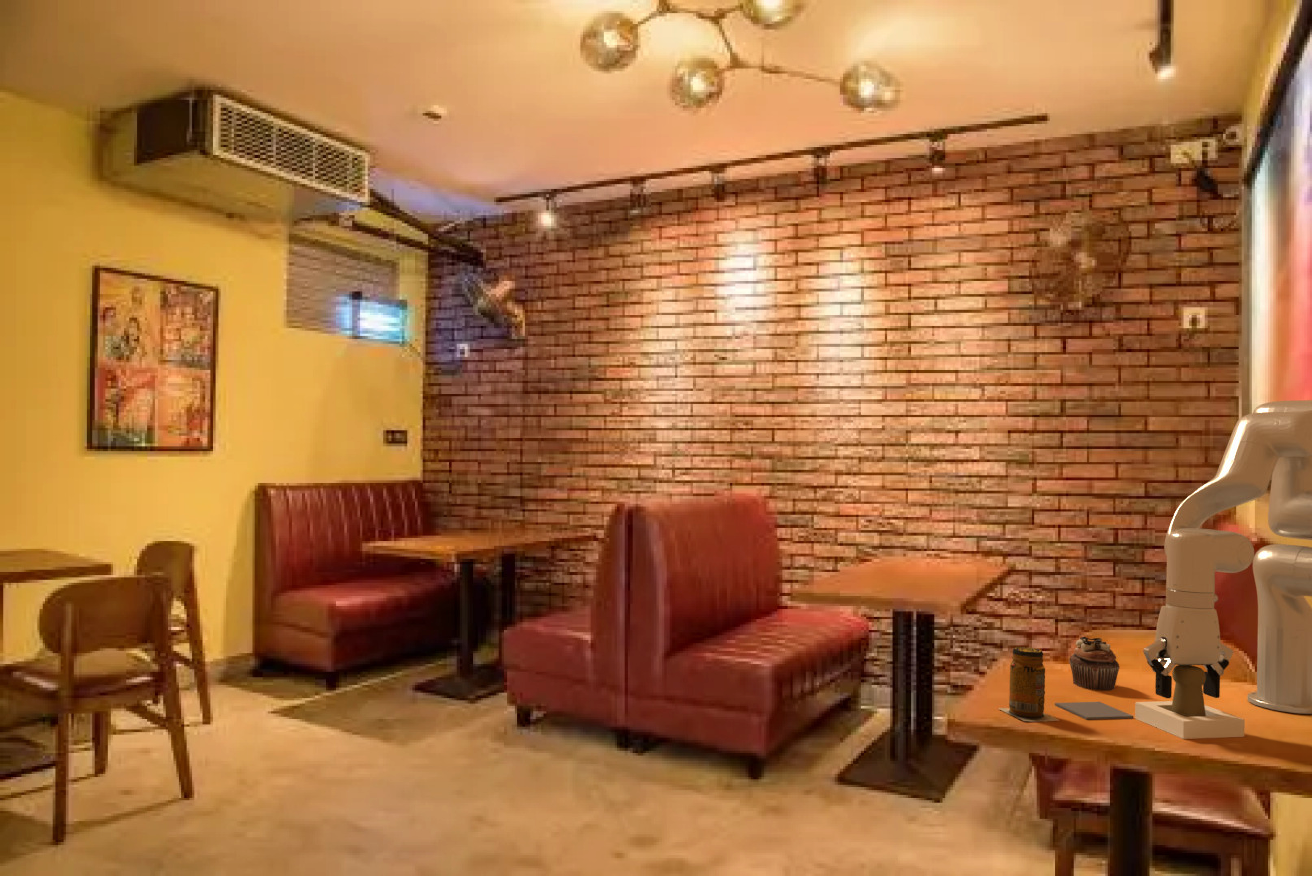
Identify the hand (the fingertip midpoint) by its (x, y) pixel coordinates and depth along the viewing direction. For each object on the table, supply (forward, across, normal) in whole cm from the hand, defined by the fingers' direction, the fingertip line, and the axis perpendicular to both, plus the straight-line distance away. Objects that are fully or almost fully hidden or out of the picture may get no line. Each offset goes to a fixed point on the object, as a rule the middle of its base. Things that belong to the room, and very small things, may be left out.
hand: (1187, 696), depth 164 cm
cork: (+6, 0, 0) cm, 6 cm away
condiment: (+6, +25, -10) cm, 27 cm away
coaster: (+6, +11, -11) cm, 16 cm away
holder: (+6, 0, 0) cm, 6 cm away
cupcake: (+6, -2, -29) cm, 30 cm away
